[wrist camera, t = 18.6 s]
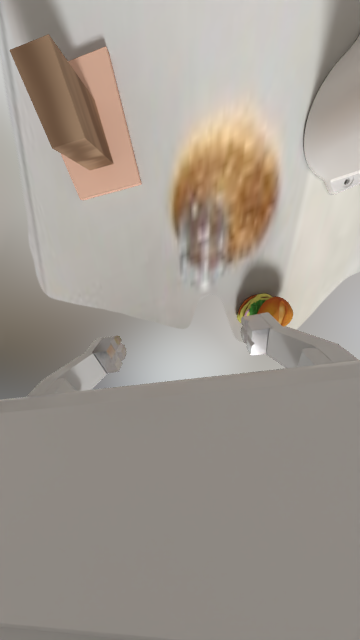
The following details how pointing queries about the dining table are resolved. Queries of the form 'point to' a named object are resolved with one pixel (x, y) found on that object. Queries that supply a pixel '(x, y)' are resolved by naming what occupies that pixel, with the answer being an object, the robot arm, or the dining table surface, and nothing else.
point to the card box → (62, 103)
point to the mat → (105, 92)
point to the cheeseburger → (267, 308)
